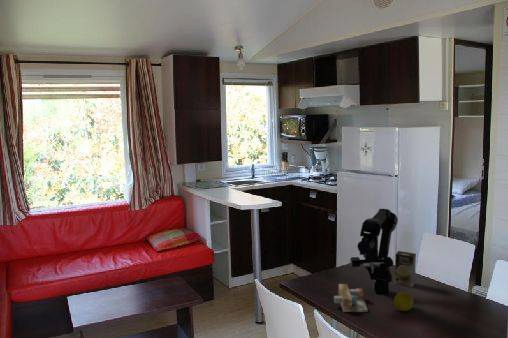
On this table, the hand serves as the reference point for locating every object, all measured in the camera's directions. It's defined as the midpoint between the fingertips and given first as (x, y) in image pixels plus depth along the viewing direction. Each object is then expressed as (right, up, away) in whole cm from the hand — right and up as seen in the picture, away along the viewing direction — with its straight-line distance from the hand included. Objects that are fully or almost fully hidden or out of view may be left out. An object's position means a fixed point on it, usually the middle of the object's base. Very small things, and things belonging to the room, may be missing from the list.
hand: (371, 279), depth 208 cm
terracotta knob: (-8, -10, +5) cm, 13 cm away
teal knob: (-13, -11, -3) cm, 17 cm away
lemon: (+13, -12, -7) cm, 19 cm away
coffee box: (+23, -8, +23) cm, 34 cm away
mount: (-9, -11, +1) cm, 14 cm away
